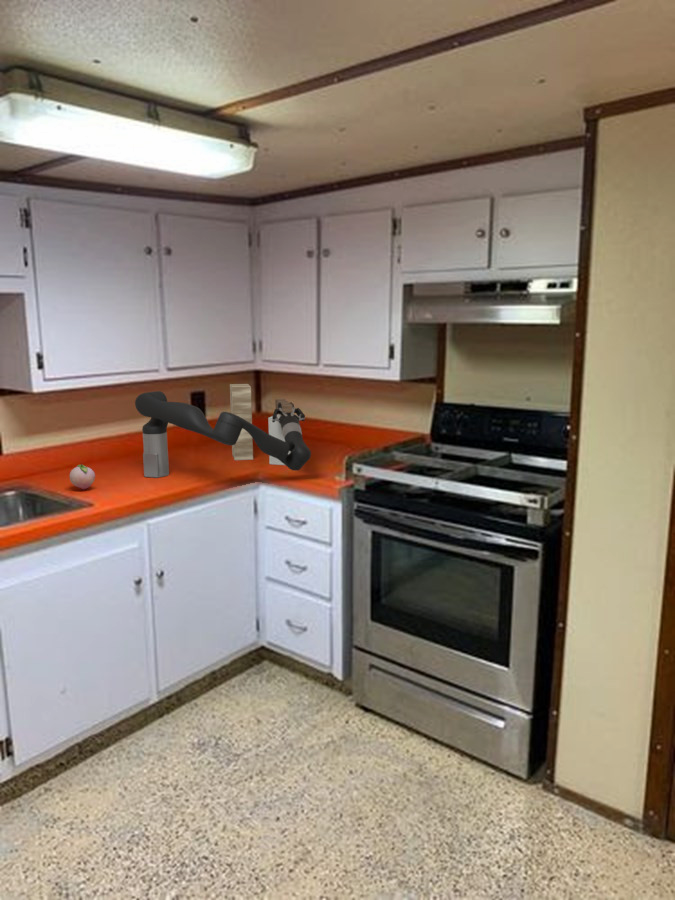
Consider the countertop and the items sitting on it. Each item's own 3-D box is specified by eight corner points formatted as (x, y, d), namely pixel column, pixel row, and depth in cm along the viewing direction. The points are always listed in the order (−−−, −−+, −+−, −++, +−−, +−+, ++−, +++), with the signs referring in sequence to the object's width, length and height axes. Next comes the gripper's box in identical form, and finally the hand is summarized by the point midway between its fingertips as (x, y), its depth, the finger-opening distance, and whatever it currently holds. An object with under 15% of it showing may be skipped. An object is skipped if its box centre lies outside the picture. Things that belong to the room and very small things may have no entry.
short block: (291, 465, 290) (290, 418, 286) (269, 464, 292) (268, 417, 288) (299, 460, 299) (298, 415, 295) (278, 459, 302) (277, 414, 298)
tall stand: (253, 459, 302) (250, 386, 295) (234, 460, 300) (232, 387, 293) (250, 453, 313) (247, 383, 307) (232, 454, 311) (229, 384, 305)
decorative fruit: (66, 489, 252) (64, 463, 250) (87, 485, 258) (85, 459, 256) (77, 494, 246) (75, 467, 244) (99, 490, 252) (97, 463, 250)
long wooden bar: (292, 414, 282) (292, 405, 281) (282, 415, 281) (282, 405, 280) (284, 407, 302) (284, 398, 301) (275, 408, 301) (275, 399, 300)
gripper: (273, 438, 275) (267, 411, 288) (308, 436, 278) (301, 410, 291) (274, 423, 270) (268, 397, 283) (309, 422, 273) (302, 396, 286)
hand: (285, 404), depth 287 cm, fingers closed on long wooden bar, 4 cm apart
